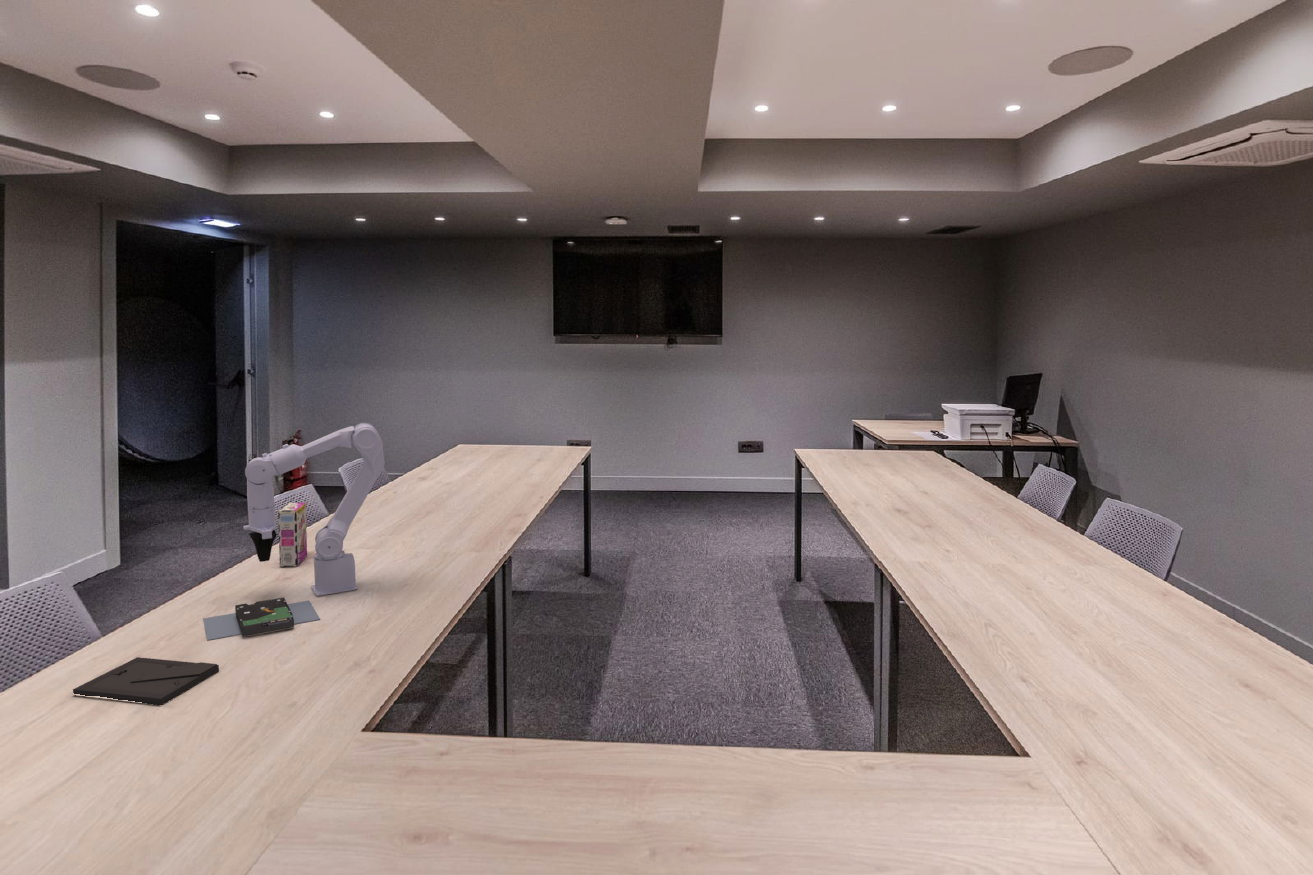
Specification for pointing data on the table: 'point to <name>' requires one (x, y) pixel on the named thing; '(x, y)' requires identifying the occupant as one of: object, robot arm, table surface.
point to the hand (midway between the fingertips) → (264, 560)
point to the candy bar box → (292, 534)
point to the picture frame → (148, 680)
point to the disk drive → (264, 617)
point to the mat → (230, 627)
